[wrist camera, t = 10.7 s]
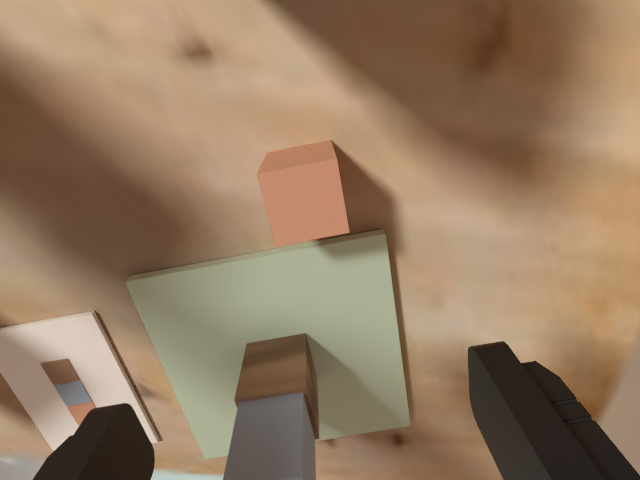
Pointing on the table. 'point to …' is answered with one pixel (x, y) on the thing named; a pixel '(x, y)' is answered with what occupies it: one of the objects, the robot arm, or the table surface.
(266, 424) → the brick
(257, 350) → the brick base
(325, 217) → the brick
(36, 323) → the page
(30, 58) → the table surface
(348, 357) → the build plate
